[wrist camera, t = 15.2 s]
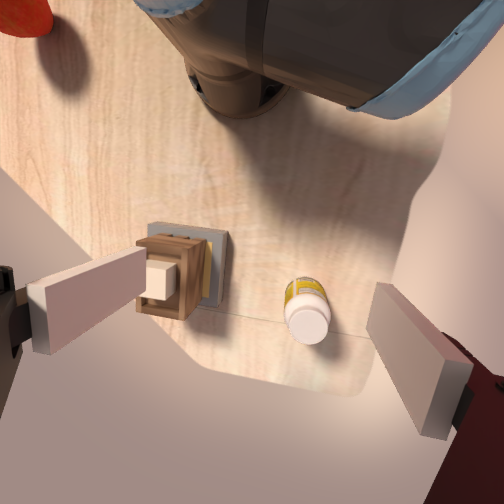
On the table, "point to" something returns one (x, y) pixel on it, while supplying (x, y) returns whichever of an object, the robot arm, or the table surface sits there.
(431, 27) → the robot arm
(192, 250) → the stained wood crate
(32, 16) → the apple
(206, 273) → the dock
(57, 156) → the table surface
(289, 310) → the pill bottle
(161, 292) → the block
